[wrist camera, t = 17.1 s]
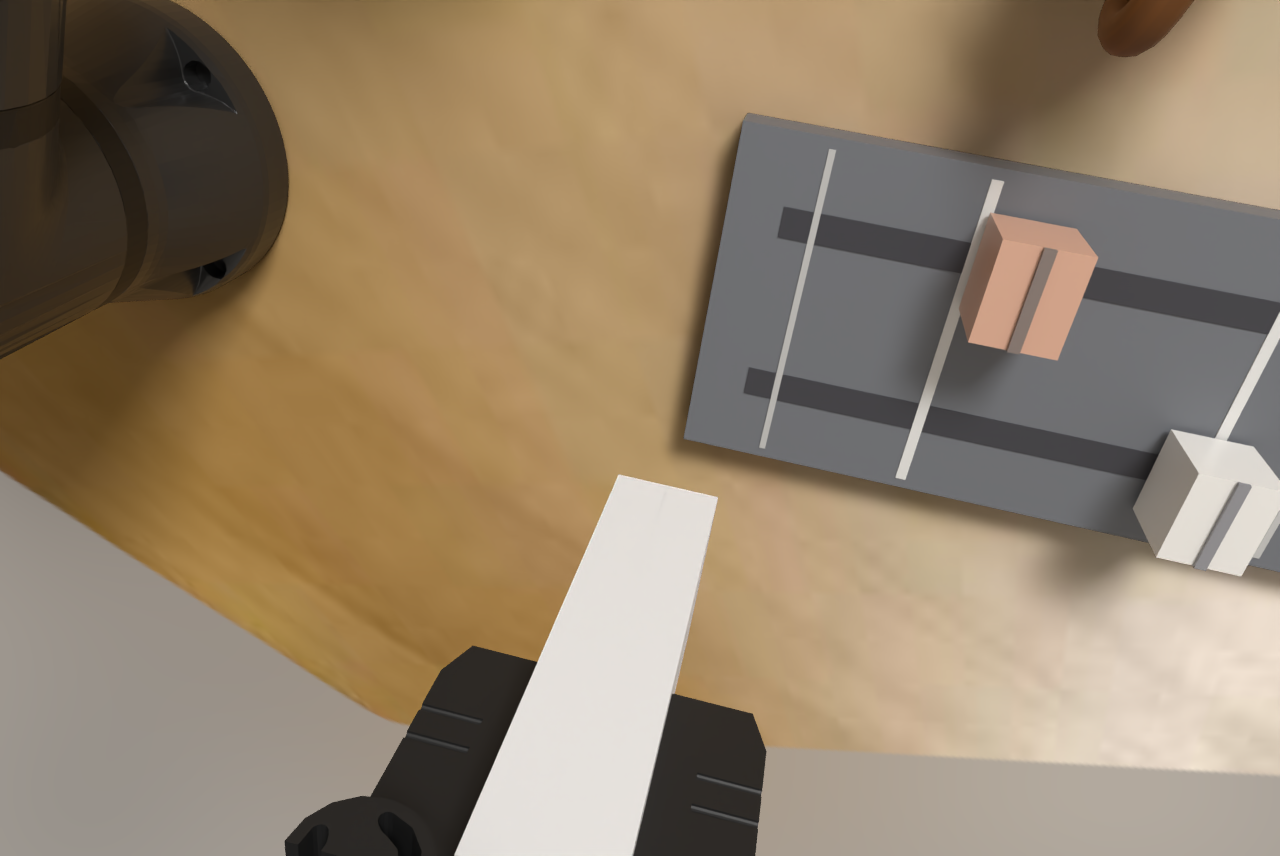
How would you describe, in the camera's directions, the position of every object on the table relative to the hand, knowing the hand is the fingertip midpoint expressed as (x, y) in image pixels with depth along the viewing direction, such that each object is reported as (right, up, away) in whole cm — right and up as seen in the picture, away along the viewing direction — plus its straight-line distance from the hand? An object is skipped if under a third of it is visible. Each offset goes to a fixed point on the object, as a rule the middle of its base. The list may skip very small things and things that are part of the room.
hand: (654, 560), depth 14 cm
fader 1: (+16, +9, +26) cm, 32 cm away
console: (+19, +6, +30) cm, 36 cm away
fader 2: (+25, 0, +29) cm, 39 cm away
